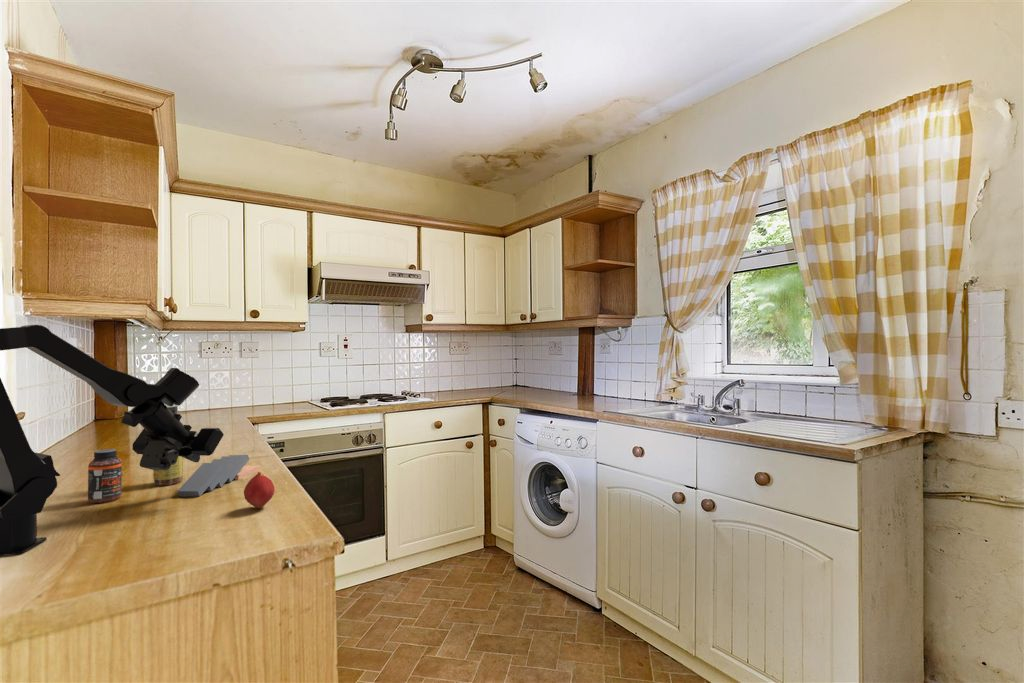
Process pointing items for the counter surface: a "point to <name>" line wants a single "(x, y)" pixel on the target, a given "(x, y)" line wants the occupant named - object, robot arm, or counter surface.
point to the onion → (259, 490)
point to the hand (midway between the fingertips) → (197, 460)
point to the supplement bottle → (104, 476)
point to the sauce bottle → (174, 471)
